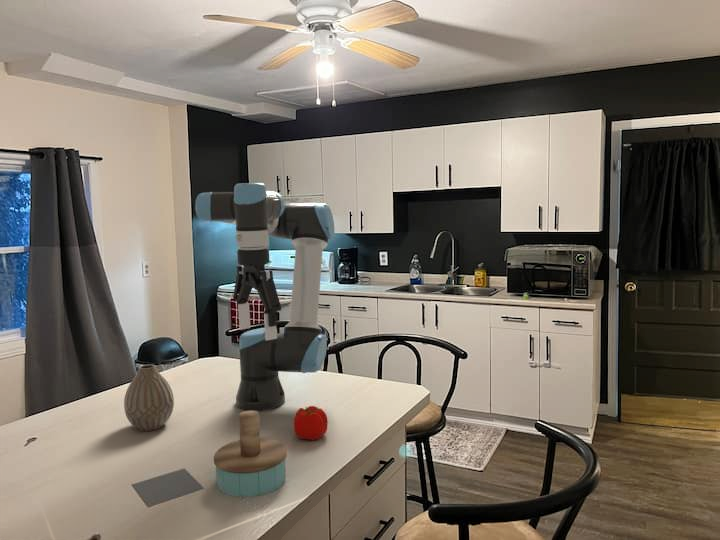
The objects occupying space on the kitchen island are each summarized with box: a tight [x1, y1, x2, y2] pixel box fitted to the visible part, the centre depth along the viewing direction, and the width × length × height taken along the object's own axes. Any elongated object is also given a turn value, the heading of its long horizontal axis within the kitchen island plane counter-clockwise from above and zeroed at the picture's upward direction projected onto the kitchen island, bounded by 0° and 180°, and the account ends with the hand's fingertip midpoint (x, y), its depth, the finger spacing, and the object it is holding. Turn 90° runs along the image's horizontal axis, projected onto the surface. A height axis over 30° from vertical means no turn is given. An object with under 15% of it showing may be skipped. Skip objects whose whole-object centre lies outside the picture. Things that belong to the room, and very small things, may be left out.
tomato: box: [293, 405, 329, 441], centre depth 148 cm, size 9×9×8 cm
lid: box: [213, 410, 288, 474], centre depth 124 cm, size 16×16×10 cm
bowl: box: [215, 458, 287, 498], centre depth 125 cm, size 15×15×6 cm
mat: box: [131, 468, 205, 508], centre depth 123 cm, size 12×12×1 cm
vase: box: [123, 363, 175, 432], centre depth 157 cm, size 13×13×18 cm
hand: (257, 333), depth 137 cm, fingers open, 13 cm apart
